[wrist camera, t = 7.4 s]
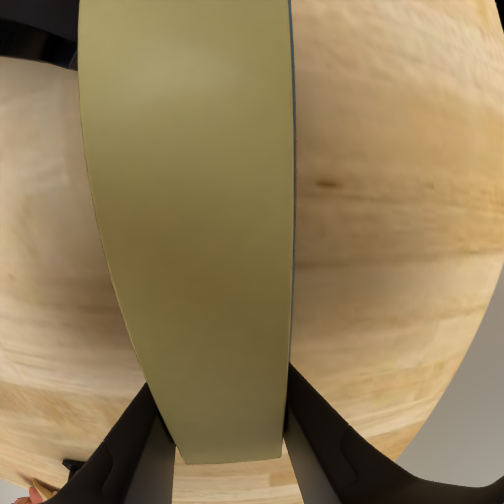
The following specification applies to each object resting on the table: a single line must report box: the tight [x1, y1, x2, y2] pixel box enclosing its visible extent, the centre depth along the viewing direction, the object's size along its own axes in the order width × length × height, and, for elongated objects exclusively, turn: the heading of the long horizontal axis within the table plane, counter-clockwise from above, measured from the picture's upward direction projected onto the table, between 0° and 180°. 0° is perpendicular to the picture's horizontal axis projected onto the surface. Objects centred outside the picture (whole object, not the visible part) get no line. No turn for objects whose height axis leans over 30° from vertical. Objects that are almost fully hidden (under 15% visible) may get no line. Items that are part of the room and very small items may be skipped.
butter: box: [78, 0, 294, 464], centre depth 7 cm, size 14×3×3 cm, turn 2°
